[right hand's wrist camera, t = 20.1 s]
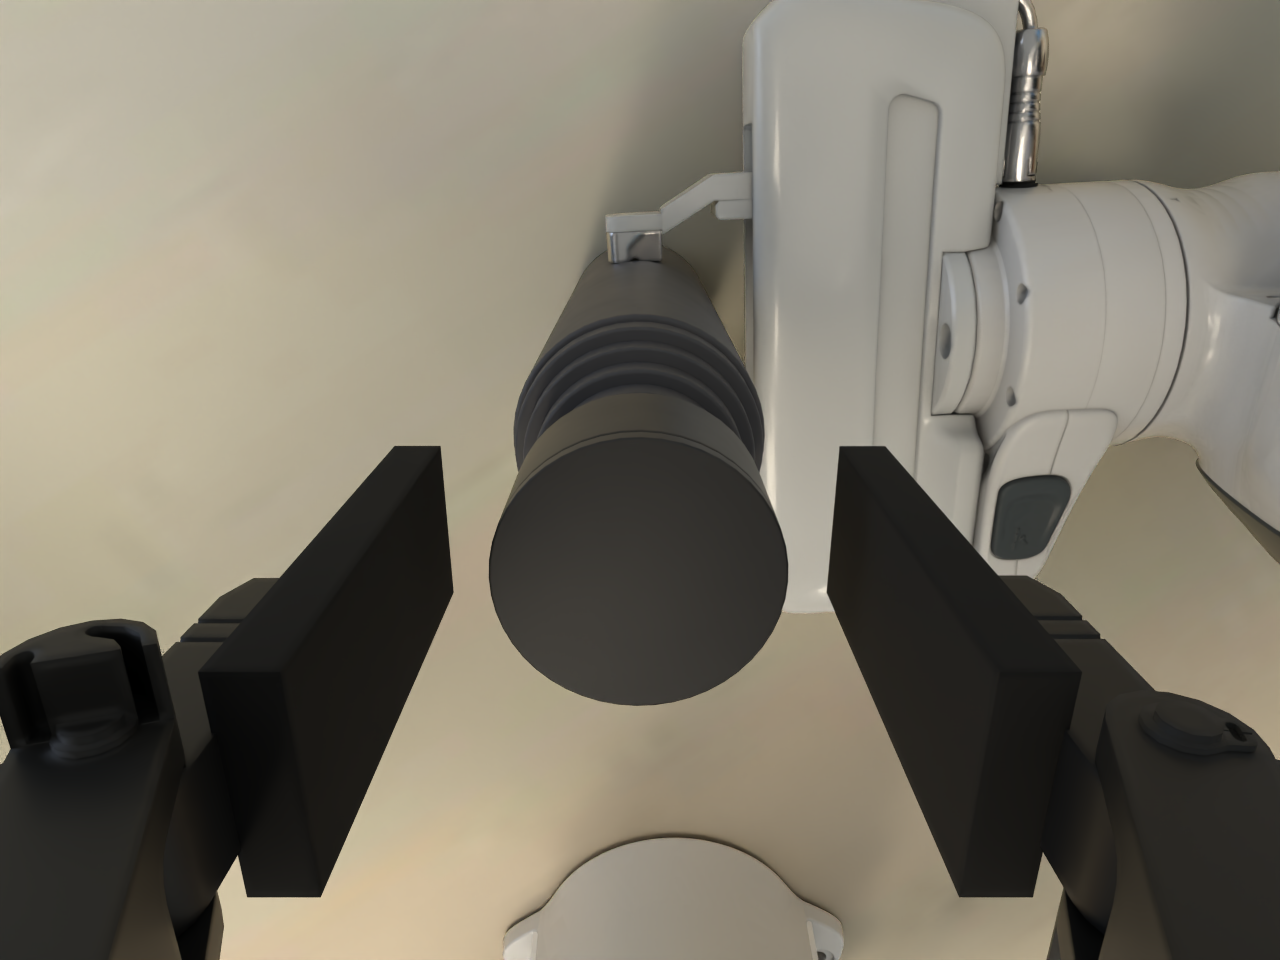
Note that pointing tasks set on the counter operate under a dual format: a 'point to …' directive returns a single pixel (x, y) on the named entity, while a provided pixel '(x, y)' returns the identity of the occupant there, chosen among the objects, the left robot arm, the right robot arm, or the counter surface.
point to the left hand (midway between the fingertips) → (613, 342)
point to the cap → (638, 552)
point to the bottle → (639, 351)
